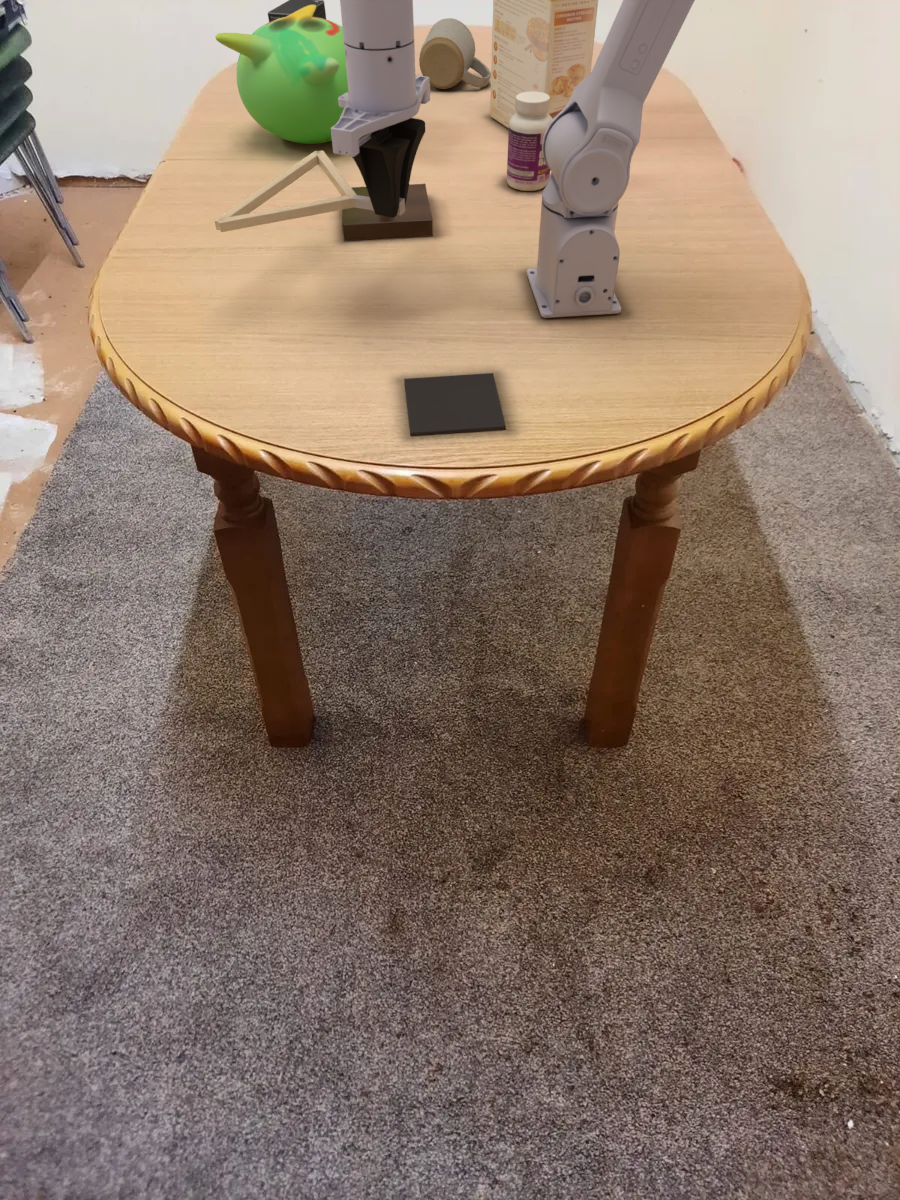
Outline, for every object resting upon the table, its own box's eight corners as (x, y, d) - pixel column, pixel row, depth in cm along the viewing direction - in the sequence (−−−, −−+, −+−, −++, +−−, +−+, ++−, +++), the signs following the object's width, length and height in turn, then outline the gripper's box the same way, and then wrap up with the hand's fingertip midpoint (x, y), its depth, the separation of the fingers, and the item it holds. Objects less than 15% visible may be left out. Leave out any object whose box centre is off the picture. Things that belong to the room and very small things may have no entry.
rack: (432, 236, 93) (431, 190, 89) (344, 240, 92) (339, 194, 89) (425, 199, 100) (424, 154, 96) (342, 203, 99) (338, 159, 95)
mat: (505, 429, 69) (505, 426, 69) (410, 435, 68) (410, 432, 68) (492, 375, 74) (493, 372, 74) (404, 381, 74) (404, 378, 73)
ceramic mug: (417, 90, 126) (416, 31, 120) (427, 73, 131) (427, 15, 125) (486, 95, 124) (488, 35, 119) (493, 77, 130) (496, 19, 124)
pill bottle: (546, 193, 100) (553, 105, 93) (503, 190, 101) (506, 103, 94) (551, 176, 104) (558, 90, 96) (510, 173, 104) (513, 87, 97)
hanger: (355, 256, 71) (353, 242, 70) (214, 231, 75) (211, 218, 74) (444, 176, 82) (444, 163, 81) (317, 158, 86) (316, 146, 85)
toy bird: (393, 124, 116) (386, -2, 105) (352, 170, 106) (339, 35, 95) (275, 113, 120) (257, -10, 109) (224, 156, 109) (198, 25, 98)
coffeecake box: (585, 143, 111) (604, -37, 96) (539, 152, 109) (552, -30, 94) (531, 108, 120) (541, -61, 105) (487, 116, 118) (492, -55, 103)
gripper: (376, 12, 72) (387, 175, 82) (289, 59, 63) (312, 235, 73) (450, 20, 70) (451, 186, 80) (370, 70, 61) (383, 250, 71)
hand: (389, 211), depth 77 cm, fingers closed on hanger
